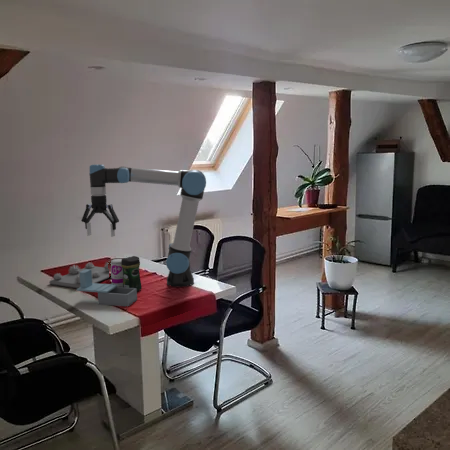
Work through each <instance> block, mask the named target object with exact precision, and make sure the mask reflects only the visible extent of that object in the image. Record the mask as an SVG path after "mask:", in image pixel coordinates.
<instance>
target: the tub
mask: <svg viewBox="0 0 450 450" xmlns="http://www.w3.org/2000/svg"><path fill="white" fill-rule="evenodd" d="M137 301H138V291H137V288H124V287H116V288H114V289H113V290H111V291H110V292H108V293H101V292H97V304H98V305H101V306H102V305H105V306H117V307H126V306H127V307H128V306H129V307H131V305H133V304H134V303H135V302H137ZM133 302H134V303H133Z"/></svg>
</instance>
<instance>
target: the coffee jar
mask: <svg viewBox="0 0 450 450" xmlns="http://www.w3.org/2000/svg"><path fill="white" fill-rule="evenodd" d="M139 257H140V256H135V255H132V256H128V257H125V258H124V257H123V258H121V259H122V260H121V266H122V268H123V287H124V288H137V292H139V291H141V290H142V289H143V288H142V280H141V275H140V265H141V261H140V258H139Z"/></svg>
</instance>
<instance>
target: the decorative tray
mask: <svg viewBox="0 0 450 450" xmlns="http://www.w3.org/2000/svg"><path fill="white" fill-rule="evenodd" d="M108 264H109V263H108V262H107V261H105V263H104V266H103V265H102V266H95V265H94V264H93V263H91V262H90V261H88V263H86V264H85V265H84V268H81V267H79V265H77V264H76V265H75V264H73V265H72V266H69V268H68V273H67V274H65V275H62V274H61V273H60V272H59V273H58V272H56V273H54V274H53V275H52V276H53V277H52V279H51V280H49V284H50V285H52V286H57V287H58V286H60V287H65V288H72V289H76V290H77V289H78V288H80V287H81V286H80V272H81V271H83V270H85V269H91V272H92V283H98V284H99V283H101V282H103V281H106V280H108V279H110V278H109V269H108Z"/></svg>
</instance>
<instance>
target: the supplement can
mask: <svg viewBox="0 0 450 450" xmlns="http://www.w3.org/2000/svg"><path fill="white" fill-rule="evenodd" d="M122 259H123V258H114V259H112V260H111V263H110V264H111V277H110V280H111V284H112V285H117V287H123V268H122V266H121V260H122Z"/></svg>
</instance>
